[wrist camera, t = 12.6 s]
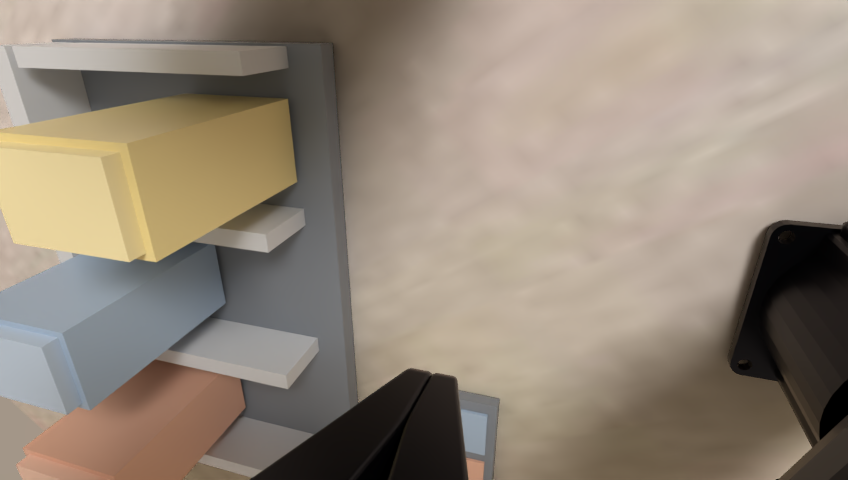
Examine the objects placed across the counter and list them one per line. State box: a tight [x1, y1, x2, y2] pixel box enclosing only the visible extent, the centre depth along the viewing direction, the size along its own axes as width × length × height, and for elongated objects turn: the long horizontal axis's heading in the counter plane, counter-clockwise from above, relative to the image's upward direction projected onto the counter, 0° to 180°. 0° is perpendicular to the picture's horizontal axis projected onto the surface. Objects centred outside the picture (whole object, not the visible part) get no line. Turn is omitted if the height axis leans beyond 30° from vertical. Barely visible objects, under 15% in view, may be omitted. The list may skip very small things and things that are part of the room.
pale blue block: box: [0, 242, 226, 415], centre depth 22 cm, size 4×5×9 cm
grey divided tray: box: [0, 39, 358, 478], centre depth 24 cm, size 22×14×4 cm, turn 0°
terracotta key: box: [16, 359, 246, 480], centre depth 25 cm, size 4×5×9 cm
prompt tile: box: [458, 390, 499, 480], centre depth 26 cm, size 7×4×1 cm, turn 179°
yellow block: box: [0, 94, 297, 262], centre depth 18 cm, size 4×5×9 cm
